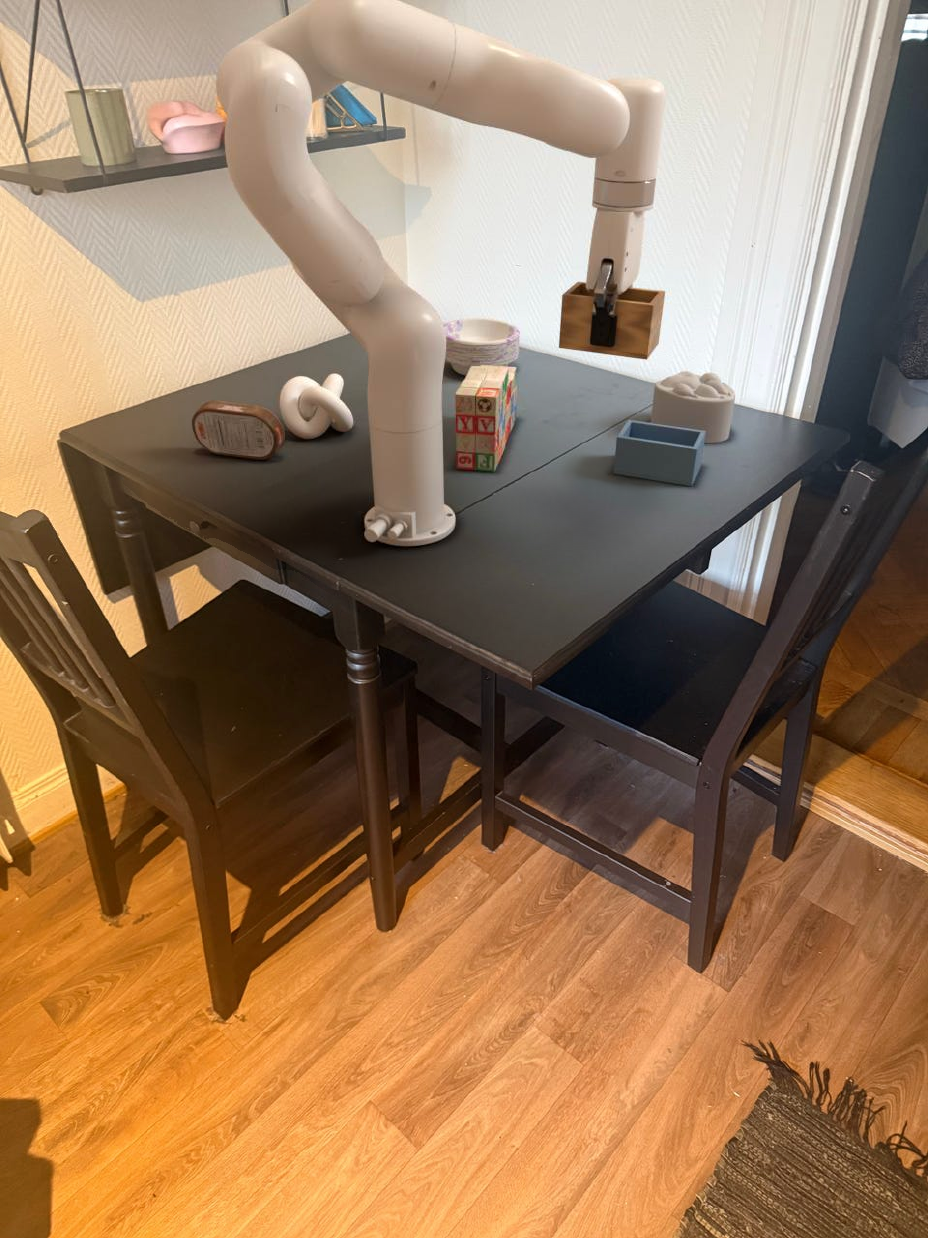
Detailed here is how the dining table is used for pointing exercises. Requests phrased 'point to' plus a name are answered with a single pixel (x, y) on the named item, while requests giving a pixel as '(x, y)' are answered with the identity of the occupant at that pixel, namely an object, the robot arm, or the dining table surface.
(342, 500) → the dining table surface
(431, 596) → the dining table surface
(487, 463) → the stack of blocks
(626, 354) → the wooden basket
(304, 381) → the white knot sculpture
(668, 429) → the blue basket
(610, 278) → the robot arm
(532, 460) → the dining table surface
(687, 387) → the lumpy-topped squat cylinder
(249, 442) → the tin
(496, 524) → the dining table surface
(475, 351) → the paper bowls
